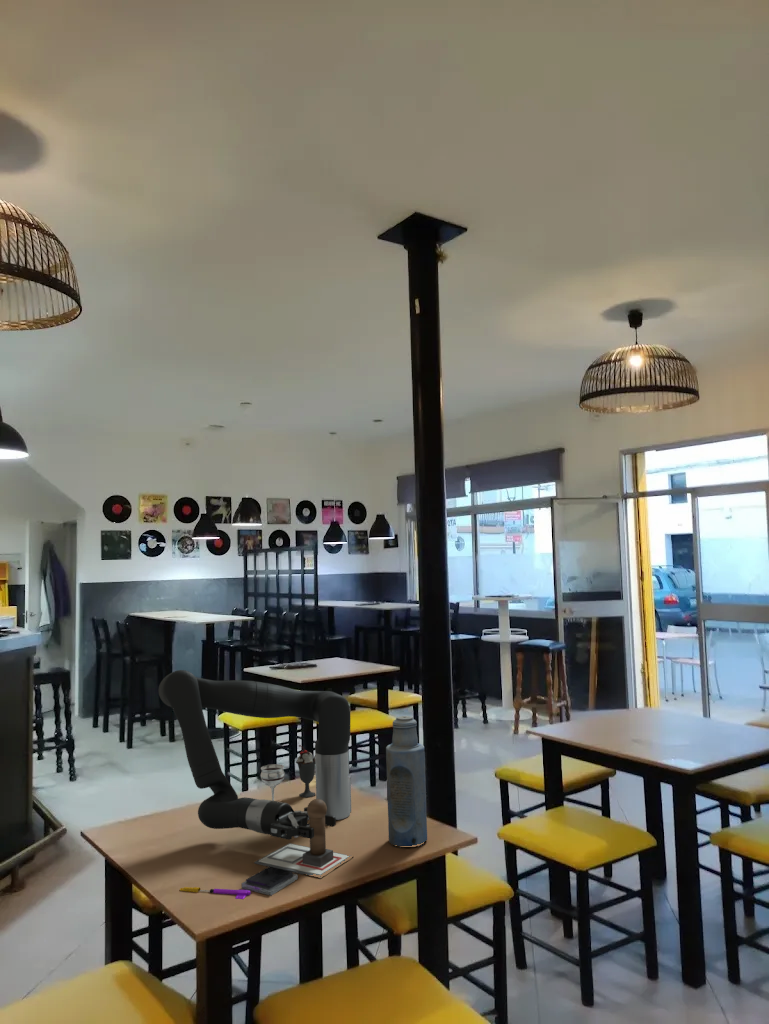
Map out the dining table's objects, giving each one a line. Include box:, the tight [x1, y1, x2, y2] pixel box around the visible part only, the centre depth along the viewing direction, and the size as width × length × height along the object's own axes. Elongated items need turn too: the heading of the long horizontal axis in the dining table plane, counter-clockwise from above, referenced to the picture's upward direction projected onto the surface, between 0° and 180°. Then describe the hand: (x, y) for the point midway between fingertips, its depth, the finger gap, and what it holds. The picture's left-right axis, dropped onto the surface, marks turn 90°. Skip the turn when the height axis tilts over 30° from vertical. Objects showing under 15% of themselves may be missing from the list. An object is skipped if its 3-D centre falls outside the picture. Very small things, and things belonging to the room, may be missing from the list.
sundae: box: [295, 744, 316, 798], centre depth 216 cm, size 7×7×15 cm
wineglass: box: [260, 763, 286, 801], centre depth 202 cm, size 7×7×12 cm
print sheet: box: [254, 842, 351, 877], centre depth 165 cm, size 13×19×1 cm
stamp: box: [303, 798, 334, 867], centre depth 163 cm, size 5×5×14 cm
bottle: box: [385, 715, 428, 846], centre depth 176 cm, size 10×10×30 cm
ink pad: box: [241, 866, 298, 896], centre depth 153 cm, size 9×8×2 cm
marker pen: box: [179, 886, 252, 900], centre depth 149 cm, size 3×1×16 cm
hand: (324, 827), depth 163 cm, fingers open, 8 cm apart
